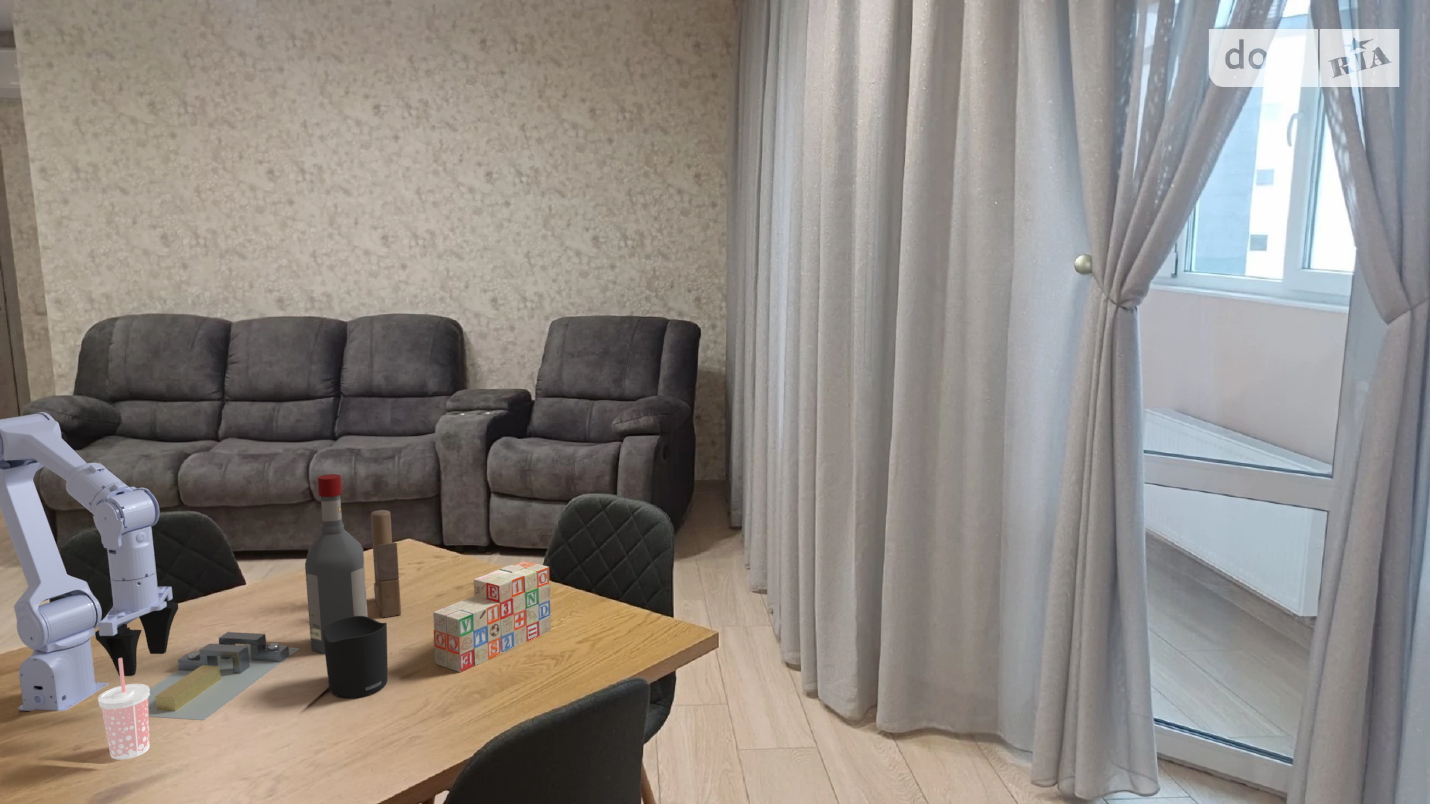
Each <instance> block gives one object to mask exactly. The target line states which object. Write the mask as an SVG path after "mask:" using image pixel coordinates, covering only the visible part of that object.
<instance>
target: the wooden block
mask: <svg viewBox="0 0 1430 804" xmlns="http://www.w3.org/2000/svg"><path fill="white" fill-rule="evenodd" d="M391 517H392V516H391V511H389V510H387V509H379V510H375V511H372V512H371V513H370V523H371V525H370V526H371V537H372V539H371V541H372V555H373V556H372V557H373V571H374V572H373V573H374V583H373V589H374V600H375V603H376V606H377V608H378V611H379V614H380V617H381V618H382V617H385V618H391V617H390V616H392V617H397V616H396V615H398V616H401V615H402V606H401V603H402V602H401V589H400V588H401V587H400V579H399V578H400V575H399V574H400V572H399V557H398V555H399V554H398V553H399V552H398V542H393V537H392V536H393V535H392V519H391Z"/></svg>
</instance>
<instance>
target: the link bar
mask: <svg viewBox="0 0 1430 804" xmlns="http://www.w3.org/2000/svg"><path fill="white" fill-rule="evenodd" d="M219 680H221V674H220V666H209V665H202V666H200V667H199V668H197V669H196V670H194V671H193V672H191V673H190V674H188V675H187V676H185V677H184V678H182V679H181V680H179V681H178V682H176V683H175V684H173V685H172V686H170V687H169V688H167V689H166V690H164V691H162V692H161V693H159V694H158V695H156V706H157V710H165V711H176V710H178V709H179V708H181V707H182V706H183V705H185V704H186V703H188V702H189V701H191V700H192V699H193V698H195V697H196V696H198V695H199V694H201V693H202V692H203V691H205V690H206V689H208V688H209V687H211V686H212V685H213V684H215V683H216V682H218V681H219Z"/></svg>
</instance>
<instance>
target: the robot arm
mask: <svg viewBox="0 0 1430 804" xmlns="http://www.w3.org/2000/svg"><path fill="white" fill-rule="evenodd" d="M44 467H45V468H47V469H48V470H50V471H51V472H53V473H54V474H56V476H57V475H58V476H59V477H60V478H62V479H63V480H65V481H66V482H65V490H66V493H68V495H69V496H71V497H72V498H73V499H74V500H75V501H77V502H78V503H79V504H80V505H82V506H83V508H85V509H86V510H87V511H89V512H90V513H91V514H92V518H93V522H94V525H95V527H96V529H97V531H98V533H99V534H100V537H101V539H100V541H101V544H102V545H103V548H104V549H106V551H107V558H108V559H107V561H108V569H109V578H110V585H111V596H112V603H113V605H112V607H111V609H110V610H109V611H108V613H107V614H106V615H105V617H104V618H103V619H102V617H103V616H102V614H103V613H102V612H103V611H102V607H101V603H100V602H99V599H97V598H96V596H95V595H94V594H93V592H92V591H91V589H90V586H89V583H88V582H87V581H86V580H83V579H80V578H78V577H74V576H71V575H69V574H67V571H66V567H65V564H64V562H63V559H62V557H61V553H60V550H59V548H58V546H57V543H56V541H55V537H54V534H53V533H52V528H51V526H50V523H49V520H48V518H47V516H46V512H45V510H44V507H43V504H42V502H41V499H40V495H39V493H38V491H37V488H36V485H35V482H34V477H35V475H36V472H38V471H39V470H41V469H43V468H44ZM159 505H160V504H159V502H158V500H157V499H156V497H155V495H154V494H153V493H152V492H151V491H150V489H148V488H146V487H139V488H138V487H135V486H128V485H127V484H126V483H125V482H123V481H122V480H121V479H120V478H119V477H117V476H116V475H115V474H113V472H111V471H109V469H108V468H106V467H105V465H104V464H102V463H99V462H98V463H97V462H89V463H87V462H86V461H85V460H84V459H83V457H81V456H80V455H79V453H77V452H76V451H75V450H74V449H73V448H72V447H71V446H70V445H69V444H68V443H67V442H66V441H65V440H64V439H63V438H62V431H61V427H60V424H59V422H58V421H57V420H55V419H54V418H53V416H51V414H49V413H47V412H45V411H38V412H35V413H33V414H27V415H20V416H15V417H8V418H2V419H1V418H0V512H1V515H2V518H3V521H4V523H5V526H6V528H7V532H8V534H9V537H10V540H11V542H12V545H13V548H14V551H15V553H16V557H17V558H18V559H17V560H18V563H19V565H20V568H21V570H22V573H23V576H24V578H25V581H26V583H27V588H26V589H25V591H23V593H22V594H21V596H20V597H19V598H18V599H17V601H16V602H15V604H14V605H13V609H14V613H15V617H16V630H17V635H18V636H19V639H20V641H21V642H22V643H23V644H24V645H25V646H26V647H28V648H29V649H31V650H33V651H32V653H31V654H30V656H28V657H27V658H26V659H24V660H23V662H22V663H21V664H20V667H19V671H18V676H19V684H20V691H21V693H20V694H21V700H22V701H21V702H22V704H21V705H19V706H18V708H17V709H18V711H27V712H28V711H29V712H32V711H34V710H43V711H44V710H45V711H55V712H56V711H58V712H63V711H64V712H65V711H68V710H69V709H71V708H73V707H75V706H76V705H77V704H79V703H81V702H82V701H85V699H87V698H89V697H91V696H92V695H94V694H96V693H98V692H99V691H101V690H102V689H104V688H105V687H107V686H109V685H110V683H109V682H98V681H97V682H96V677H95V669H94V659H93V650H92V642H91V640H92V639H91V638H92V637H94V636H95V640H96V641H97V642H99V644H100V645H101V646H102V647H103V648H104V650H105V651H106V652H107V654H108V656H109V657H110V659H111V661H112V662H113V663H112V664H113V666H114V668H115V669H116V673H117V674H118V676H119V677H120V671H119V662H118V659H119V658H122V661H123V670H124V677H133V676H135V675H136V673H137V666H138V665H137V663H138V662H137V650H138V649H137V648H138V643H139V640H140V636H141V633H142V629H131V628H130V627H128V624H130V623H132V622H133V621H134V620H136V619H139V620H140V623H141V625H142V627H143V631H144V633H145V639H146V644H147V645H146V646H147V648H148V651H149V654H150V655H164V654H166V653H167V649H168V644H169V638H170V637H169V636H170V632H171V627H172V624H173V622H174V621H173V620H174V619H175V617H176V614H177V612H178V611H179V603H178V602H171V601H172V600H173V588H172V586H158V578H157V569H156V568H157V567H156V559H155V558H156V557H155V549H154V540H153V539H154V538H153V531H152V527H153V526H155V525H156V524H157V523H158V521H159V518H160V506H159ZM58 597H63V598H59V599H57V600H53V601H50V602H47V603H46V601H48V600H52V599H55V598H58ZM43 602H45V603H44V604H41V603H43ZM97 628H98V630H96V631H95V629H97Z"/></svg>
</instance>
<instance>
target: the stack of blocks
mask: <svg viewBox="0 0 1430 804" xmlns="http://www.w3.org/2000/svg"><path fill="white" fill-rule="evenodd" d="M473 591H474V592H473V596H472V597H469V598H465V599H464V600H460V601H458V602H455V603H453V604H450V605H448V606H445V607H443V608H440V609H438V610H435V611H433V645H434V661H435V664H436V665H438V666H441V667H444V668H447V669H449V670H452V671H455V672H458V673H462V672H464V671H466V670H469V669H470V668H472V667H474V666H478V665H480V664H482V663H484V662H487V661H488V660H491V659H493V658H495V657H497V656H496V655H498V654H500V653H501V652H504V651H506V652H508V651H509V650H508V649H510V648H512V647H514V648H516V647H515V646H516V645H518V644H521V645H523V644H524V643H523V642H525V641H528V642H530V641H532V640H534V639H533V638H535V637H537V638H539V637H541V636H543V635H545V633H546V632H548V631H549V630H551V631H552V619H551V617H552V616H551V583H550V566H547V565H543V564H538V563H535V562H531V561H525V560H523V561H521V562H517V563H516V564H510V565H506V566H504V567H500V568H499V569H496V570H494V571H491V572H490V573H487V574H484V575H481V576H479V577H476V578H474V579H473ZM548 633H549V632H548ZM542 634H543V635H542ZM546 634H547V633H546ZM540 635H541V636H540ZM538 636H539V637H538ZM531 639H532V640H531ZM535 639H536V638H535ZM529 640H530V641H529ZM522 643H523V644H522ZM525 643H526V642H525ZM507 650H508V651H507ZM510 650H511V649H510ZM504 653H505V652H504ZM501 654H502V653H501ZM501 654H500V655H501ZM494 656H495V657H494ZM498 656H499V655H498ZM490 658H491V659H490ZM477 664H478V665H477Z"/></svg>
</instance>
